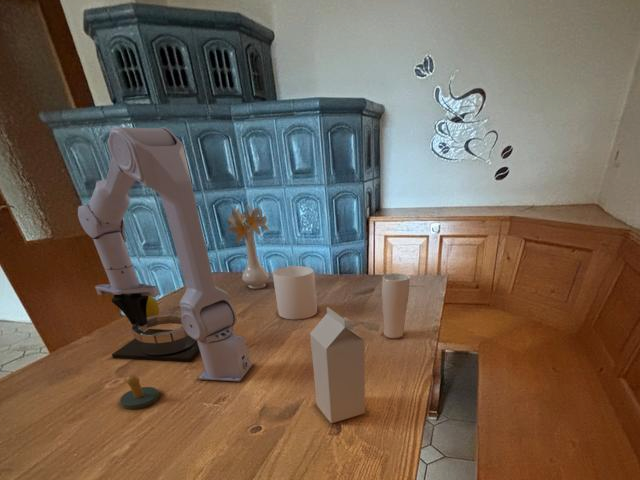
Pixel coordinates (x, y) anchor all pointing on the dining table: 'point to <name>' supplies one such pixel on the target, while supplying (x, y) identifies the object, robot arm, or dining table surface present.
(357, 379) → the milk carton
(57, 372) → the dining table surface
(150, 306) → the lemon
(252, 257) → the flower vase
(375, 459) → the dining table surface
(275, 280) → the cup
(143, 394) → the stand
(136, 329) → the tan flat ring
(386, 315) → the drinking glass
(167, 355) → the hob plate
